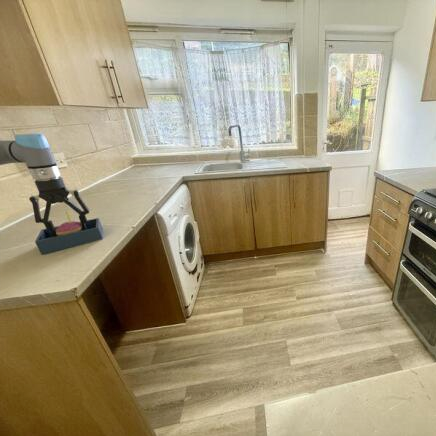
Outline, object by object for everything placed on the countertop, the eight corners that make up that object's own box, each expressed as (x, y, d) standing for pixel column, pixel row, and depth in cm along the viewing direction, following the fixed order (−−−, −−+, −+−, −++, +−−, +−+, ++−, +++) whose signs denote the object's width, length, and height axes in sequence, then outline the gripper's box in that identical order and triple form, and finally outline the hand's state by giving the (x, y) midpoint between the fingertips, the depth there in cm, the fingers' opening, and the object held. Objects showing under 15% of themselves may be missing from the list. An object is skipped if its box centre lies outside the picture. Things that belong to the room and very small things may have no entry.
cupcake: (76, 232, 104) (64, 206, 99) (92, 234, 102) (80, 207, 97) (55, 243, 96) (40, 215, 91) (72, 244, 94) (58, 216, 89)
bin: (41, 254, 90) (34, 241, 88) (47, 241, 99) (41, 229, 97) (102, 239, 100) (98, 227, 97) (102, 229, 109) (98, 217, 107)
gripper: (3, 185, 80) (33, 245, 90) (84, 176, 92) (103, 229, 101) (9, 181, 86) (37, 237, 95) (85, 172, 97) (103, 223, 106)
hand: (71, 233), depth 98 cm, fingers closed on cupcake, 8 cm apart
